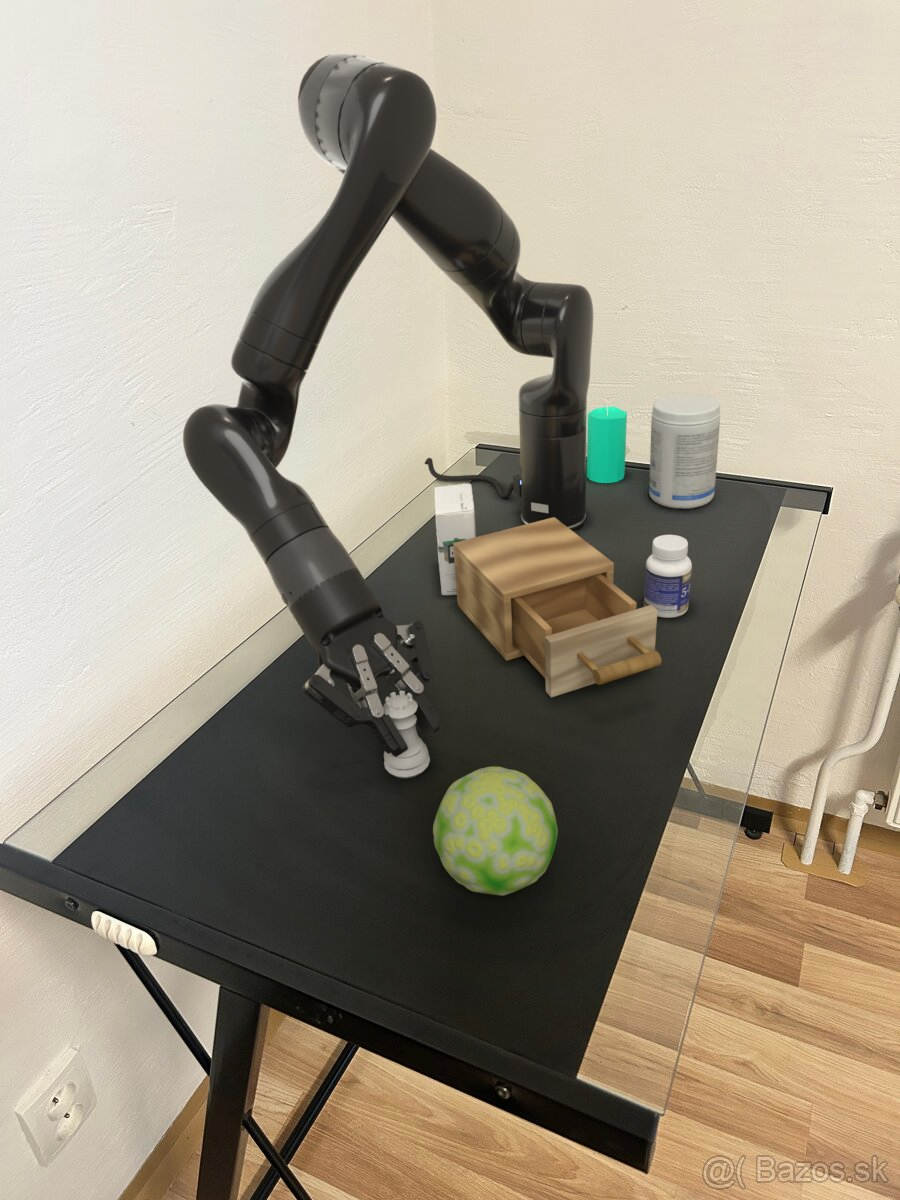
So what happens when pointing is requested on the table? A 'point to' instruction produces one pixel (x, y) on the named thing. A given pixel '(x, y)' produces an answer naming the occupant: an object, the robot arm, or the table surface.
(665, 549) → the pill bottle
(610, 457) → the candle
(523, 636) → the drawer
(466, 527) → the ink box
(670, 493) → the supplement tub
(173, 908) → the table surface
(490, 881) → the decorative ball
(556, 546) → the cabinet
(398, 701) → the rook chess piece
